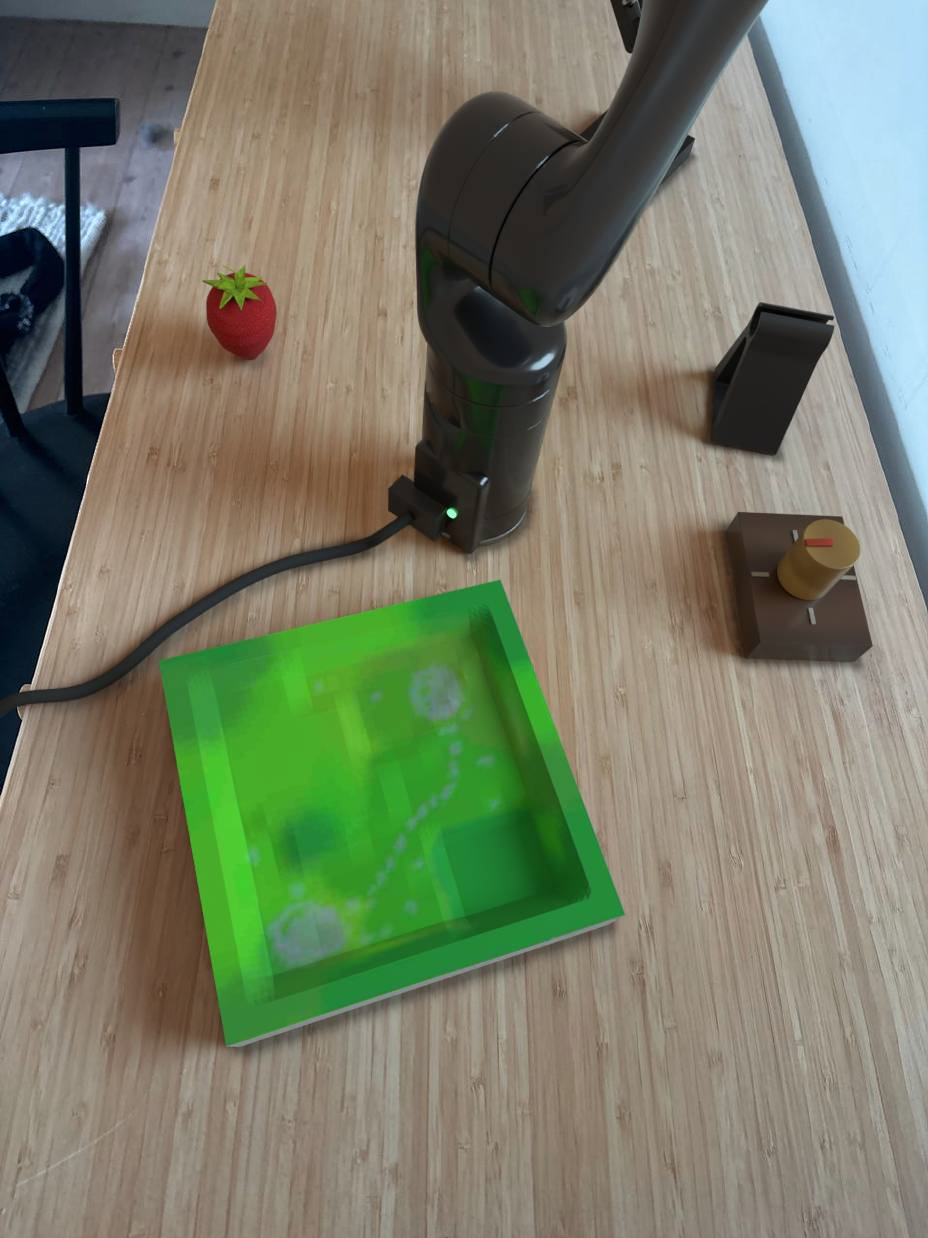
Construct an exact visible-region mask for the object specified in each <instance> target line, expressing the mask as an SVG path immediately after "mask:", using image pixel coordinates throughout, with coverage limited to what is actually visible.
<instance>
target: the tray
mask: <svg viewBox="0 0 928 1238" xmlns="http://www.w3.org/2000/svg"><path fill="white" fill-rule="evenodd" d="M158 664H159V668H160V675H161V682H162V687H163V693H164V698H165V703H166V709H167V716H168V720H169V727H170V733H171V738H172V744H173V750H174V755H175V759H176V760H175V762H176V767H177V772H178V778H179V783H180V790H181V796H182V801H183V807H184V812H185V819H186V824H187V829H188V835H189V841H190V847H191V852H192V858H193V864H194V869H195V875H196V882H197V886H198V892H199V897H200V898H199V900H200V904H201V910H202V915H203V922H204V927H205V932H206V939H207V944H208V950H209V956H210V961H211V967H212V972H213V973H212V974H213V978H214V984H215V985H214V986H215V990H216V995H217V996H216V997H217V1001H218V1008H219V1013H220V1018H221V1024H222V1025H221V1026H222V1029H223V1031H222V1032H223V1036H224V1042H225V1046H226V1047H230V1048H231V1047H232V1048H241V1047H244V1046H247V1045H249V1044H252V1043H257V1042H259V1041H262V1040H265V1039H268V1038H271V1037H274V1036H277V1035H280V1034H283V1033H286V1032H289V1031H292V1030H295V1029H298V1028H301V1027H305V1026H307V1025H310V1024H313V1023H316V1022H319V1021H322V1020H325V1019H328V1018H331V1017H334V1016H337V1015H340V1014H343V1013H346V1012H349V1011H352V1010H355V1009H359V1008H362V1007H364V1006H367V1005H370V1004H374V1003H376V1002H379V1001H383V1000H385V999H389V998H392V997H395V996H397V995H401V994H404V993H407V992H410V991H413V990H415V989H419V988H421V987H425V986H427V985H431V984H435V983H436V982H440V981H443V980H445V979H449V978H452V977H455V976H458V975H461V974H464V973H468V972H470V971H474V970H477V969H479V968H482V967H485V966H489V965H491V964H494V963H498V962H500V961H502V960H503V961H504V960H506V959H510V958H512V957H516V956H519V955H521V954H525V953H528V952H530V951H533V950H536V949H539V948H543V947H546V946H548V945H552V944H555V943H558V942H560V941H564V940H567V939H570V938H574V937H576V936H579V935H582V934H585V933H588V932H591V931H594V930H597V929H600V928H602V927H603V928H604V927H606V926H608V925H610V924H612V923H614V922H615V921H617V920H619V919H620V918H623V917H624V916H626V912H625V909H624V907H623V903H622V901H621V899H620V896H619V893H618V889H617V888H616V884H615V882H614V880H613V876H612V874H611V872H610V870H609V869H610V868H609V867H608V863H607V860H606V858H605V856H604V853H603V851H602V847H601V845H600V842H599V840H598V836H597V834H596V831H595V829H594V827H593V824H592V821H591V818H590V815H589V812H588V810H587V807H586V805H585V803H584V799H583V797H582V794H581V791H580V789H579V788H580V787H579V786H578V783H577V781H576V778H575V776H574V772H573V769H572V767H571V765H570V761H569V759H568V756H567V753H566V751H565V748H564V746H563V743H562V740H561V737H560V735H559V732H558V729H557V727H556V724H555V721H554V719H553V716H552V714H551V711H550V708H549V705H548V703H547V700H546V697H545V695H544V692H543V690H542V689H543V688H542V686H541V683H540V681H539V679H538V676H537V673H536V671H535V667H534V665H533V663H532V659H531V657H530V654H529V651H528V649H527V646H526V643H525V641H524V639H523V636H522V633H521V630H520V627H519V625H518V622H517V619H516V617H515V614H514V611H513V608H512V607H511V604H510V601H509V598H508V595H507V593H506V589H505V587H504V584H503V582H502V579H497V580H492V581H487V582H483V583H479V584H476V585H472V586H467V587H463V588H459V589H458V588H457V589H453V590H451V591H446V592H442V593H438V594H435V595H430V596H425V597H421V598H417V599H413V600H408V601H404V602H399V603H395V604H391V605H387V606H382V607H378V608H375V609H371V610H367V611H362V612H357V613H353V614H349V615H345V616H341V617H337V618H332V619H328V620H324V621H323V620H322V621H320V622H315V623H311V624H306V625H302V626H299V627H294V628H290V629H286V630H281V631H278V632H277V631H276V632H273V633H269V634H265V635H261V636H257V637H253V638H248V639H244V640H240V641H236V642H235V641H234V642H230V643H227V644H222V645H218V646H214V647H211V648H206V649H201V650H198V651H193V652H190V653H184V654H180V655H176V656H172V657H167V658H164V659H160V660H158Z"/></svg>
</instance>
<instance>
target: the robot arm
mask: <svg viewBox="0 0 928 1238" xmlns="http://www.w3.org/2000/svg"><path fill="white" fill-rule="evenodd" d="M769 1H770V0H609V2H610V4H611V8H612V12H613V14H614V18H615V21H616V23H617V24H616V25H617V28H618V30H619V34H620V38H621V40H622V44H623V46H624V50H625V51H626V53H627V54H630V55H631V56H630V58H629V61H628V64H627V66H626V69H625V72H624V74H623V76H622V79H621V81H620V84H619V86H618V88H617V90H616V93H615V95H614V97H613V98H612V101H611V102H610V105H609V106H608V109H607V110H608V111H607V110H606V111H607V113H606V115H605V117H604V119H603V120H602V122H601V124H600V126H599V127H598V129H597V131H596V132H595V134H594V136H593V137H592V139H591V140H590V141H587V140H586V139H584V138H582V137H581V136H579V135H580V134H577V133H576V132H575V131H573V130H571V129H570V128H568V127H567V126H565V125H563V124H562V123H560V122H559V121H557V120H555V118H552V117H551V116H549V115H547V114H546V113H545V112H543V111H541V110H540V109H538V108H536V107H535V106H533V105H532V104H530V103H529V102H527V101H525V100H523V99H521V98H520V97H518V96H517V95H514V94H511V93H508V92H506V91H498V90H490V91H485V92H481V93H479V94H476V95H474V96H473V97H471V98H470V99H468V100H466V101H464V102H463V103H462V104H461V105H460V106H458V108H456V110H455V111H454V112H453V113H452V114H451V115H450V116H449V118H447V120H446V121H445V122H444V124H442V127H441V128H440V130H439V132H438V134H437V135H436V137H435V139H434V142H433V144H432V145H431V148H430V150H429V153H428V154H427V157H426V160H425V163H424V167H423V169H422V173H421V178H420V181H419V187H418V191H417V198H416V206H415V220H414V247H415V248H414V251H415V255H414V256H415V284H416V285H415V286H416V316H417V323H418V326H419V329H420V332H421V334H422V337H423V338H424V340H425V342H426V354H425V355H426V356H425V357H426V359H425V374H424V388H423V389H424V390H423V404H422V405H423V407H422V422H421V423H422V424H421V440H419V442H417V444H416V445H415V446H414V467H413V480H412V479H411V478H409V477H408V476H406V475H404V474H401V475H400V476H399V477H397V478H396V480H395V481H394V482H393V483H392V484H391V485H390V486H389V487H388V488H387V511H388V513H390V514H392V515H393V516H395V519H393V520H392V521H391V522H389V523H387V524H386V525H384V526H383V527H381V528H379V529H378V530H376V531H375V532H373V533H372V534H370V535H368V536H366V537H363V538H360V539H357V540H353V541H350V542H347V543H343V544H339V545H334V546H330V547H329V546H328V547H324V548H319V549H315V550H310V551H305V552H304V551H303V552H300V553H296V554H292V555H289V556H286V557H282V558H279V559H276V560H274V561H271V562H268V563H265V564H264V565H261V566H259V567H256V568H255V569H252V570H250V571H248V572H245V573H244V574H242V575H240V576H237V577H236V578H234V579H232V580H230V581H228V582H226V583H225V584H223V585H222V586H219V587H218V588H216V589H215V590H213V591H212V592H210V593H208V594H206V595H205V596H203V597H202V598H201V599H199V600H197V601H195V602H194V603H193V604H191V605H190V606H188V607H186V608H185V609H183V610H182V611H181V612H178V613H177V614H176V615H175V616H173V617H172V618H170V619H168V620H167V621H166V622H165V623H163V624H162V625H161V626H159V627H158V628H157V629H156V630H155V631H154V632H152V633H151V634H150V635H149V636H148V637H146V639H144V640H143V641H142V642H141V643H140V644H139V645H138V646H137V647H136V648H135V649H133V651H131V652H130V653H129V654H128V655H126V656H125V658H123V659H122V660H120V661H119V662H118V663H116V664H115V665H114V666H112V667H111V668H110V669H108V670H106V671H104V672H103V673H102V674H100V675H98V676H96V677H94V678H92V679H89V680H88V681H84V682H82V683H79V684H76V685H72V686H65V687H58V688H41V689H30V690H23V691H18V692H15V693H12V694H10V695H8V696H6V697H4V698H2V699H1V700H0V719H1V718H4V717H6V716H7V715H8V714H9V713H10V712H11V711H13V710H15V709H17V708H19V707H23V706H24V707H25V706H27V705H36V704H37V705H38V704H50V703H51V704H52V703H61V702H70V701H74V700H79V699H82V698H87V697H89V696H92V695H94V694H97V693H98V692H101V691H103V690H104V689H106V688H108V687H109V686H111V685H113V684H115V683H117V682H118V681H119V680H120V679H122V678H123V677H125V676H126V675H127V674H129V673H130V672H131V671H132V670H134V669H135V668H137V666H139V665H140V664H141V662H143V661H144V660H145V659H146V658H147V657H148V656H150V655H151V653H153V652H155V650H156V649H157V648H158V647H160V646H161V645H162V644H163V643H164V642H165V641H166V640H167V639H169V638H170V637H171V636H173V634H175V633H176V632H178V631H179V630H181V629H182V628H183V627H185V626H186V625H188V624H189V623H190V622H193V621H194V620H195V619H197V618H198V617H200V616H201V615H203V614H204V613H206V612H208V611H209V610H211V609H212V608H214V607H215V606H217V605H219V604H220V603H221V602H223V601H225V600H227V599H228V598H229V597H231V596H233V595H235V594H237V593H239V592H240V591H242V590H244V589H246V588H248V587H250V586H252V585H254V584H255V583H258V582H260V581H263V580H265V579H267V578H270V577H273V576H274V575H277V574H280V573H283V572H286V571H289V570H291V569H296V568H299V567H302V566H303V567H304V566H306V565H311V564H315V563H321V562H325V561H330V560H334V559H339V558H345V557H349V556H353V555H356V554H359V553H362V552H365V551H368V550H371V549H373V548H375V547H378V546H379V545H381V544H382V543H383V542H386V541H387V540H388V539H390V538H392V537H393V536H395V535H396V534H398V533H399V532H401V531H403V529H405V528H406V527H408V526H410V527H412V528H413V529H415V530H416V531H417V532H419V533H420V534H422V535H423V536H425V537H427V538H428V539H430V540H431V541H433V542H435V541H436V540H437V539H438V538H439V537H441V538H443V539H444V540H447V541H448V542H450V543H451V544H452V545H454V546H455V547H457V548H459V549H460V550H462V551H463V552H465V553H466V554H468V555H472V554H473V553H474V552H476V550H477V549H478V548H479V547H484V546H490V545H494V544H496V543H497V544H498V543H500V542H501V541H504V540H506V539H507V538H509V537H511V536H512V535H513V534H514V533H515V532H516V531H517V530H518V529H519V528H520V526H521V525H522V524H523V522H524V520H525V518H526V515H527V511H528V507H529V500H530V495H531V491H532V486H533V482H534V479H535V475H536V471H537V466H538V463H539V459H540V455H541V451H542V446H543V443H544V439H545V435H546V431H547V427H548V423H549V419H550V415H551V411H552V407H553V405H554V400H555V396H556V394H557V393H556V392H557V388H558V384H559V381H560V376H561V372H562V369H563V365H564V361H565V357H566V352H567V348H568V347H567V346H568V331H567V325H566V321H567V320H568V319H570V318H571V317H572V316H574V314H576V313H577V312H578V311H579V310H580V309H581V308H582V307H583V306H584V305H585V304H586V303H587V302H588V300H589V299H590V298H591V297H592V296H593V295H594V294H595V292H596V291H597V289H599V287H600V286H601V284H602V283H603V281H604V280H605V279H606V277H607V276H608V275H609V273H610V272H611V270H612V268H613V267H614V265H615V263H616V262H617V261H618V259H619V257H620V255H621V254H622V252H623V251H624V249H625V247H626V245H627V243H628V242H629V240H630V239H631V237H632V235H633V233H634V231H635V230H636V228H637V226H638V224H639V223H640V221H641V220H642V217H643V216H644V213H646V211H647V209H648V207H649V205H650V203H651V201H652V200H653V198H654V196H655V194H656V192H657V191H658V189H659V188H660V187H659V185H660V183H661V181H662V180H663V178H664V176H665V174H666V173H667V171H668V169H669V167H670V165H671V164H672V162H673V160H674V158H675V156H676V155H677V153H678V151H679V149H680V147H681V146H682V144H683V142H684V140H685V138H686V137H687V135H689V133H690V131H691V130H692V127H693V126H694V124H695V122H696V121H697V119H698V117H699V115H700V113H701V111H702V110H703V108H704V106H705V104H706V103H707V101H708V99H709V97H710V96H711V94H712V92H713V90H714V89H715V87H716V85H717V84H718V82H719V80H720V78H721V77H722V75H723V74H724V72H725V70H726V69H727V67H728V66H729V64H730V62H731V61H732V59H733V57H734V56H735V54H736V53H737V51H738V50H739V48H740V46H741V45H742V43H743V42H744V40H745V39H746V37H747V35H748V34H749V32H750V31H751V29H752V27H753V26H754V24H755V22H756V21H757V19H758V18H759V17H760V14H761V13H762V11H763V10H764V9H765V7H766V6H767V4H768V2H769ZM658 187H659V188H658Z"/></svg>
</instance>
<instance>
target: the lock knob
mask: <svg viewBox="0 0 928 1238" xmlns="http://www.w3.org/2000/svg"><path fill="white" fill-rule="evenodd" d="M860 555H861V543H860V541H859V539H858V537H857V536H856V534H855V533H854V532H853V531H852V530H851V529H850V528H849V527H848V526H847V525H845V524H844V525H843V524H841V523H839V522H837V521H833V520H828V519H823V520H817V521H814V522H812V523H811V524H809V525H808V526H807V527H806V528H805V530H804V531H803V532H802V533H801V535H800V536H799V537H798V539H797V540H796V541H795V542H794V544H793V545H792V546H791V547H790V549H789V550H788V551H787V552H786V554H785V555H784V556H783V557H782V559H781V560H780V561H779V563H778V566H777V576H778V579H779V581H780V583H781V585H782V586H783V588H784V589H785V590H786V591H787V592H789V593H790V594H791V595H793V596H795V597H797V598H800V599H804V600H815V599H819V598H821V597H823V596H824V595H826V594H827V592H828V591H829V590H830V589H831V588H832V587H833V586H834V585H835V584H836V583H837V582H838V581H839V580H840V579H841V578H842V577H843V576H844V575H845V574H846V573H847V571H848V570H849V569H850V568H851V567H852V566H853V565H854V566H855V564H857V562H858V560H859V559H860Z"/></svg>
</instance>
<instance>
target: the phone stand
mask: <svg viewBox="0 0 928 1238" xmlns="http://www.w3.org/2000/svg"><path fill="white" fill-rule="evenodd" d="M834 319H835V316H834V315H832V314H826V313H822V312H816V311H810V310H807V309H801V308H795V307H789V306H784V305H778V304H773V303H768V302H762V301H760V302H759V303H757V305H756V306H755V309H754V311H753V312H752V316H751V317H750V319H749V322H748V323H747V325H746V326H745V327H744V329H743V330H742V331H741V332H740V334H739V336H737V338H736V339H735V341H734V342H733V344H732V345H731V346H730V348H729V349H728V350H727V352H726V353H725V354H724V356H723V357H722V358H721V360H720V361H719V363H718V364H717V365H716V366H715V368H714V370H713V382H712V384H713V388H712V405H711V406H712V407H711V421H710V422H711V425H710V444H715V445H721V446H727V447H731V448H732V447H733V448H738V449H743V450H748V451H752V452H753V451H754V452H759V453H764V454H768V455H769V454H770V455H775V456H776V455H777V454H778V452H779V449H780V447H781V445H782V443H783V441H784V438H785V436H786V434H787V431H788V429H789V427H790V425H791V422H792V420H793V417H795V414H796V412H797V409H798V407H799V404H800V403H801V400H802V398H803V395H805V394H804V393H805V391H806V389H807V387H808V384H809V382H810V380H811V378H812V376H813V373H814V371H815V369H816V367H817V364H818V362H820V361H819V360H820V358H821V357H822V356H823V354H824V353H825V351H826V350H827V349H828V347H829V345H830V343H831V340H832V337H833V334H834V331H835V325H834V324H828V322H829V321H831V322H833V321H834Z"/></svg>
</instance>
